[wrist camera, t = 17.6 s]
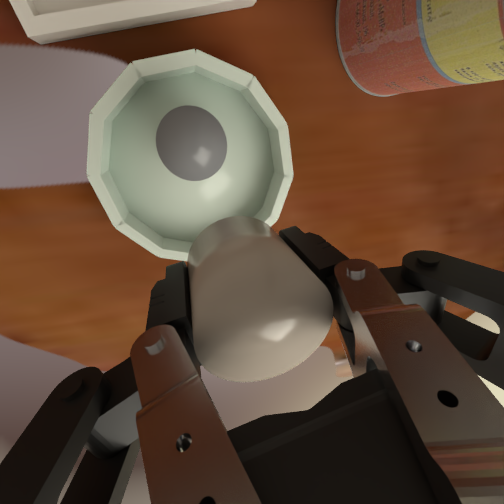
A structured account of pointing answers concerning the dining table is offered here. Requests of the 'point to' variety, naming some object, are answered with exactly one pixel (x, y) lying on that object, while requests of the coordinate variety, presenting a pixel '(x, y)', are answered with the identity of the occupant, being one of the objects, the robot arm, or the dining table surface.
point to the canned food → (420, 43)
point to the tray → (107, 15)
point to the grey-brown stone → (253, 301)
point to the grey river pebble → (191, 143)
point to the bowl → (154, 171)
